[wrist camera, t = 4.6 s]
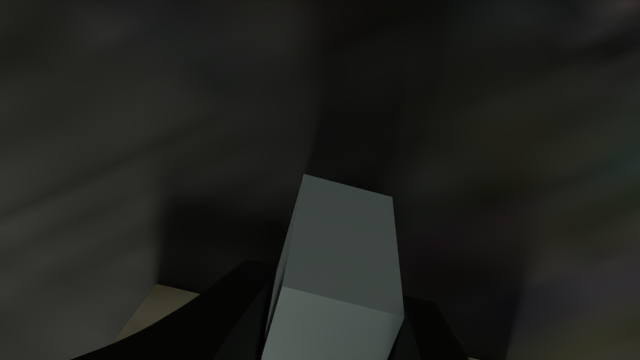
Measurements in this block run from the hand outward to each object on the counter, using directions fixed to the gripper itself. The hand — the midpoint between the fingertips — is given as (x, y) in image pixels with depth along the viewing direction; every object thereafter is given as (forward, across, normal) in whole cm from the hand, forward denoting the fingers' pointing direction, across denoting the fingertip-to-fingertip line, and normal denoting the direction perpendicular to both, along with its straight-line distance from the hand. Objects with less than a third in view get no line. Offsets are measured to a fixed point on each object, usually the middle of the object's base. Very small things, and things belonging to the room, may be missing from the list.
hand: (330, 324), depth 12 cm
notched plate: (+4, +1, +3) cm, 5 cm away
